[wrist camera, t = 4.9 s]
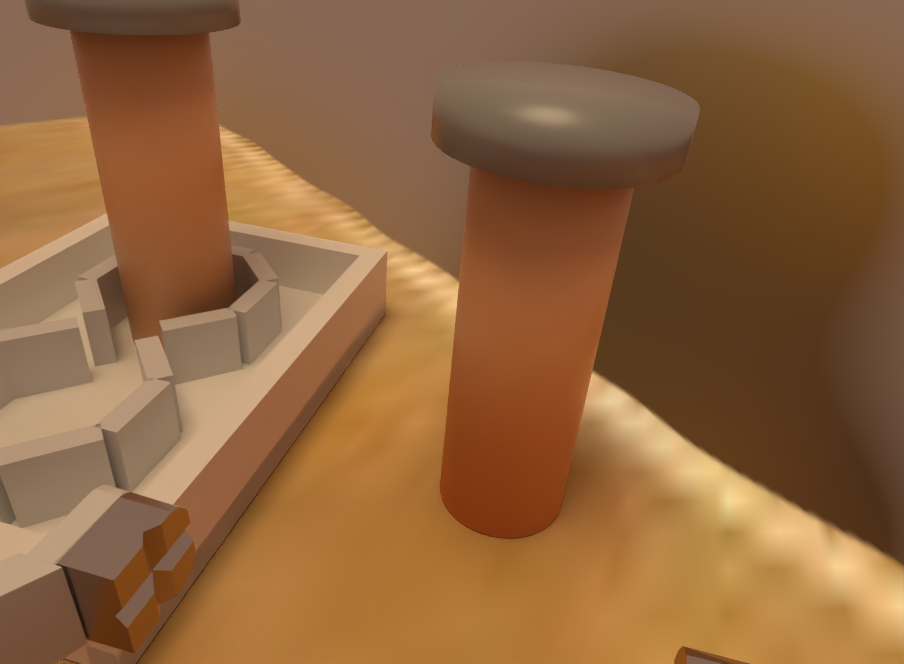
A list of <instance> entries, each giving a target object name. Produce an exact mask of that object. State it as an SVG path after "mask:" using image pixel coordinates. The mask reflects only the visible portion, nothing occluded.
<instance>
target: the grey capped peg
mask: <svg viewBox="0 0 904 664" xmlns="http://www.w3.org/2000/svg"><path fill="white" fill-rule="evenodd" d="M25 3H26V7H27V12H28V16H29V19H31V20H32V21H34V22H36V23H39V24H42V25H45V26H49V27H55V28H60V29H66V30H70V34H71V39H72V44H73V49H74V54H75V59H76V63H77V68H78V73H79V78H80V83H81V88H82V93H83V98H84V103H85V108H86V113H87V118H88V123H89V128H90V133H91V138H92V142H93V147H94V152H95V157H96V162H97V167H98V172H99V177H100V182H101V187H102V192H103V197H104V202H105V207H106V211H107V216H108V221H109V226H110V231H111V236H112V241H113V246H114V251H115V256H116V261H117V266H118V271H119V276H120V281H121V285H122V290H123V295H124V300H125V305H126V310H127V315H128V320H129V325H130V330H131V335H132V339H133V343H134V344H135V340H138V339H143V338H148V337H153V336H158V337H159V339H160V342H161V345H162V347H163V350H164V346H163V341H162V335H161V329H160V323H159V321H160V320H166V319H171V318H176V317H182V316H187V315H192V314H197V313H203V312H208V311H213V310H218V309H224V308H229V307H230V306H231V305H232V304H233V303H234V302H235V301H236V300H237V299H236V289H235V279H234V269H233V260H232V250H231V240H230V230H229V221H228V211H227V201H226V191H225V182H224V172H223V162H222V152H221V143H220V133H219V123H218V114H217V104H216V94H215V84H214V75H213V66H212V56H211V46H210V36H209V32H216V31H221V30H226V29H230V28H233V27H236V26H238V25H239V24H240V22H241V19H240V7H239V0H25ZM135 346H136V345H135Z"/></svg>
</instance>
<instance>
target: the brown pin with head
mask: <svg viewBox="0 0 904 664" xmlns="http://www.w3.org/2000/svg"><path fill="white" fill-rule="evenodd" d="M699 111H700V107H699V105H698V103H697V102H696V101H695V100H693V98H691V97H689V96H688V95H686V94H685V93H682V92H680V91H678V90H676V89H674V88H671V87H669V86H666V85H663V84H660V83H657V82H654V81H650V80H646V79H643V78H639V77H635V76H631V75H626V74H622V73H617V72H612V71H606V70H600V69H594V68H588V67H581V66H573V65H565V64H554V63H543V62H525V61H489V62H475V63H467V64H461V65H456V66H452V67H448V68H446V69H443V70H441V71H440V72H438V73H437V75H436V76H435V81H434V98H433V113H432V129H431V130H432V131H431V137H432V141H433V142H434V144H435V145H436V146H437V147H438V148H439V149H440V150H441V151H442V152H444V153H445V154H447V155H449V156H450V157H452V158H454V159H456V160H458V161H460V162H462V163H464V164H467V165H469V166H470V175H469V185H468V197H467V206H466V217H465V228H464V238H463V249H462V259H461V269H460V280H459V290H458V301H457V311H456V322H455V333H454V343H453V354H452V364H451V375H450V385H449V396H448V406H447V417H446V427H445V438H444V448H443V459H442V470H441V480H440V493H441V497H442V500H443V502H444V504H445V506H446V508H447V509H448V511H449V512H450V513H451V514H452V515H453V516H454V517H455V518H456V519H457V520H458V521H459V522H460V523H462V524H463V525H465V526H466V527H468V528H470V529H472V530H474V531H476V532H479V533H482V534H485V535H488V536H493V537H499V538H519V537H525V536H529V535H532V534H535V533H537V532H540V531H541V530H543V529H545V528H546V527H548V526H549V525H550V524H551V523H552V522H553V521H554V520H555V518H556V517H557V515H558V514H559V511H560V509H561V504H562V500H563V496H564V491H565V487H566V482H567V478H568V474H569V469H570V465H571V461H572V456H573V452H574V448H575V443H576V439H577V434H578V430H579V426H580V421H581V417H582V413H583V408H584V404H585V400H586V395H587V391H588V386H589V382H590V378H591V373H592V369H593V365H594V360H595V356H596V351H597V347H598V343H599V338H600V334H601V330H602V325H603V321H604V316H605V312H606V307H607V303H608V299H609V295H610V290H611V286H612V282H613V277H614V273H615V269H616V264H617V260H618V255H619V250H620V247H621V242H622V238H623V234H624V229H625V225H626V221H627V216H628V212H629V207H630V203H631V199H632V194H633V190H634V188H638V187H645V186H651V185H656V184H660V183H663V182H666V181H669V180H671V179H673V178H675V177H676V176H678V175H679V174H680V173H681V172H682V171H683V169H684V167H685V164H686V160H687V156H688V153H689V149H690V145H691V141H692V137H693V134H694V130H695V126H696V123H697V119H698V115H699Z"/></svg>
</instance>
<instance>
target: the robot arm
mask: <svg viewBox="0 0 904 664" xmlns="http://www.w3.org/2000/svg"><path fill="white" fill-rule="evenodd" d="M189 524H190V519H189V515H188V511H187V509H185V508H182V507H179V506H175V505H172V504H169V503H166V502H162V501H159V500H156V499H152V498H149V497H146V496H142V495H139V494H136V493H133V492H130V491H126V490H123V489H119V488H116V487H112V486H109V485H105V484H104V485H102V486H100V487H98V488H96V489H94V490H92V491H91V492H90V493H89V494H88V495H87V496H86V497H85V498H84V499H83V500H82V501H81V502H80V503H79V504H78V505H77V506H76V507H75V508H74V509H73V510H72V511H71V512H70V513H69V514H68V515H67V516H66V517H65V518H64V519H63V520H62V521H61V522H60V523H59V524H58V525H57V526H56V527H55V528H54V529H53V530H52V531H51V532H50V533H49V534H48V535H47V536H46V537H45V538H44V539H43V540H42V541H41V542H40V543H39V544H38V545H36V546H35V547H34V548H33V549H32V550H31V551H30V552H29V553H28V554H27V555H22V554H19V553H18V554H16V555H14V556H11V557H9V558H7V559H4V560H2V561H0V664H56V663H57V662H59V661H61V660H62V659H64V658H65V657H67V656H68V655H70V654H72V653H73V652H75V651H76V650H78V649H79V648H81V647H82V646H84V645H86V644H87V643H88V641H87V640H90V641H93V642H97V643H100V644H103V645H107V646H110V647H114V648H117V649H121V650H124V651H127V652H131V653H135V652H136V651H137V649H138V648H139V647H140V645H141V644H142V643H143V641H144V640H145V638H146V637H147V636H148V634H149V633H150V632H151V630H152V629H153V628H154V626H155V625H156V623H157V622H158V621H159V619H160V604H162V603H164V602H166V601H168V600H170V599H172V598H173V597H175V596H177V594H178V593H179V592H180V590H181V589H182V587H183V586H184V584H185V583H186V581H187V579H188V577H189V574H190V572H191V570H192V567H193V565H194V558H195V546H194V541H193V540H192V539H191V537H190V536H189V535H188V534H187V533H186V531H185V529H186V528H187V527H188V525H189ZM674 664H749V663H745V662H741V661H737V660H734V659H730V658H726V657H722V656H718V655H715V654H711V653H707V652H703V651H699V650H696V649H692V648H688V647H684V646H683V647H682V648H680V649H679V651H678V653H677V655H676V657H675V660H674Z"/></svg>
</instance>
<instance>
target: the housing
mask: <svg viewBox="0 0 904 664" xmlns="http://www.w3.org/2000/svg"><path fill="white" fill-rule="evenodd" d="M229 230H230V240H231V250H232V260H233V269H234V279H235V289H236V299H237V300H236V301H235V302H234V303H233V304H232V305H231V306H230V307H229V308H224V309H218V310H213V311H208V312H203V313H197V314H192V315H187V316H182V317H176V318H171V319H166V320H160V321H159V323H160V329H161V335H162V341H163V346H164V350H163V347H162V345H161V342H160V339H159V337H158V336H153V337H148V338H143V339H138V340H135V344H134V343H133V339H132V335H131V330H130V325H129V320H128V315H127V310H126V305H125V300H124V295H123V290H122V285H121V281H120V276H119V271H118V266H117V261H116V256H115V251H114V246H113V241H112V236H111V231H110V226H109V221H108V216H107V213H106V214H104V215H102V216H101V217H99V218H97V219H95V220H93V221H91V222H89V223H87V224H85V225H83V226H81V227H79V228H77V229H76V230H74V231H72V232H70V233H68V234H66V235H64V236H62V237H60V238H58V239H56V240H54V241H53V242H51V243H49V244H47V245H45V246H43V247H41V248H39V249H37V250H35V251H33V252H31V253H30V254H28V255H26V256H24V257H22V258H20V259H18V260H16V261H14V262H12V263H10V264H8V265H7V266H5V267H3V268H1V269H0V561H2V560H4V559H7V558H9V557H11V556H14V555H16V554H18V553H19V554H22V555H27V554H28V553H29V552H30V551H31V550H32V549H33V548H34V547H35V546H36V545H38V544H39V543H40V542H41V541H42V540H43V539H44V538H45V537H46V536H47V535H48V534H49V533H50V532H51V531H52V530H53V529H54V528H55V527H56V526H57V525H58V524H59V523H60V522H61V521H62V520H63V519H64V518H65V517H66V516H67V515H68V514H69V513H70V512H71V511H72V510H73V509H74V508H75V507H76V506H77V505H78V504H79V503H80V502H81V501H82V500H83V499H84V498H85V497H86V496H87V495H88V494H89V493H90V492H91V491H92V490H94V489H96V488H98V487H100V486H102V485H104V484H105V485H109V486H112V487H116V488H119V489H123V490H126V491H130V492H133V493H136V494H139V495H142V496H146V497H149V498H152V499H156V500H159V501H162V502H166V503H169V504H172V505H175V506H179V507H182V508H185V509H187V511H188V515H189V519H190V524H189V525H188V527H187V528H186V529H185V531H186V533H187V534H188V535H189V536H190V537H191V539H192V540H193V541H194V546H195V558H194V565H193V567H192V570H191V572H190V574H189V577H188V579H187V581H186V583H185V584H184V586H183V587H182V589H181V590H180V592H179V593H178V594H177V596H175V597H173V598H172V599H170V600H168V601H166V602H164V603H162V604H160V619H159V621H158V622H157V623H156V625H155V626H154V628H153V629H152V630H151V632H150V633H149V634H148V636H147V637H146V638H145V640H144V641H143V643H142V644H141V645H140V647H139V648H138V649H137V651H136V652H135V653H131V652H127V651H124V650H121V649H117V648H114V647H110V646H107V645H103V644H100V643H97V642H93V641H90V640H87V641H88V643H87V644H86V645H84V646H82V647H81V648H79V649H78V650H76V651H75V652H73V653H72V654H70V655H68V656H67V657H65V659H68V660H71V661H74V662H77V663H80V664H136V663H137V661H138V660H139V659H140V657H141V656H142V654H143V653H144V652H145V650H146V649H147V647H148V646H149V645H150V643H151V642H152V640H153V639H154V638H155V636H156V635H157V633H158V632H159V631H160V629H161V628H162V626H163V625H164V624H165V622H166V621H167V619H168V618H169V617H170V615H171V614H172V612H173V611H174V610H175V608H176V607H177V605H178V604H179V603H180V601H181V600H182V598H183V597H184V596H185V594H186V593H187V591H188V590H189V589H190V587H191V586H192V584H193V583H194V581H195V580H196V579H197V577H198V576H199V574H200V573H201V572H202V570H203V569H204V567H205V566H206V565H207V563H208V562H209V560H210V559H211V558H212V556H213V555H214V553H215V552H216V551H217V549H218V548H219V546H220V545H221V544H222V542H223V541H224V539H225V538H226V537H227V535H228V534H229V532H230V531H231V530H232V528H233V527H234V525H235V524H236V523H237V521H238V520H239V518H240V517H241V516H242V514H243V513H244V511H245V510H246V509H247V507H248V506H249V504H250V503H251V502H252V500H253V499H254V497H255V496H256V495H257V493H258V492H259V490H260V489H261V488H262V486H263V485H264V483H265V482H266V481H267V479H268V478H269V476H270V475H271V474H272V472H273V471H274V469H275V468H276V467H277V465H278V464H279V462H280V461H281V460H282V458H283V457H284V455H285V454H286V453H287V451H288V450H289V448H290V447H291V446H292V444H293V443H294V441H295V440H296V439H297V437H298V436H299V434H300V433H301V432H302V430H303V429H304V427H305V426H306V425H307V423H308V422H309V420H310V419H311V418H312V416H313V415H314V413H315V412H316V411H317V409H318V408H319V406H320V405H321V404H322V402H323V401H324V399H325V398H326V397H327V395H328V394H329V392H330V391H331V390H332V388H333V387H334V385H335V384H336V383H337V381H338V380H339V378H340V377H341V375H342V374H343V373H344V371H345V370H346V368H347V367H348V366H349V364H350V363H351V361H352V360H353V359H354V357H355V356H356V354H357V353H358V352H359V350H360V349H361V347H362V346H363V345H364V343H365V342H366V340H367V339H368V338H369V336H370V335H371V333H372V332H373V331H374V329H375V328H376V326H377V325H378V324H379V322H380V321H381V319H382V318H383V317H384V315H385V309H386V276H387V251H385V250H380V249H375V248H369V247H364V246H359V245H354V244H348V243H343V242H338V241H333V240H327V239H322V238H317V237H312V236H306V235H301V234H296V233H290V232H285V231H280V230H275V229H269V228H264V227H259V226H254V225H248V224H243V223H238V222H233V221H229ZM135 345H136V346H135Z"/></svg>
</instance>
